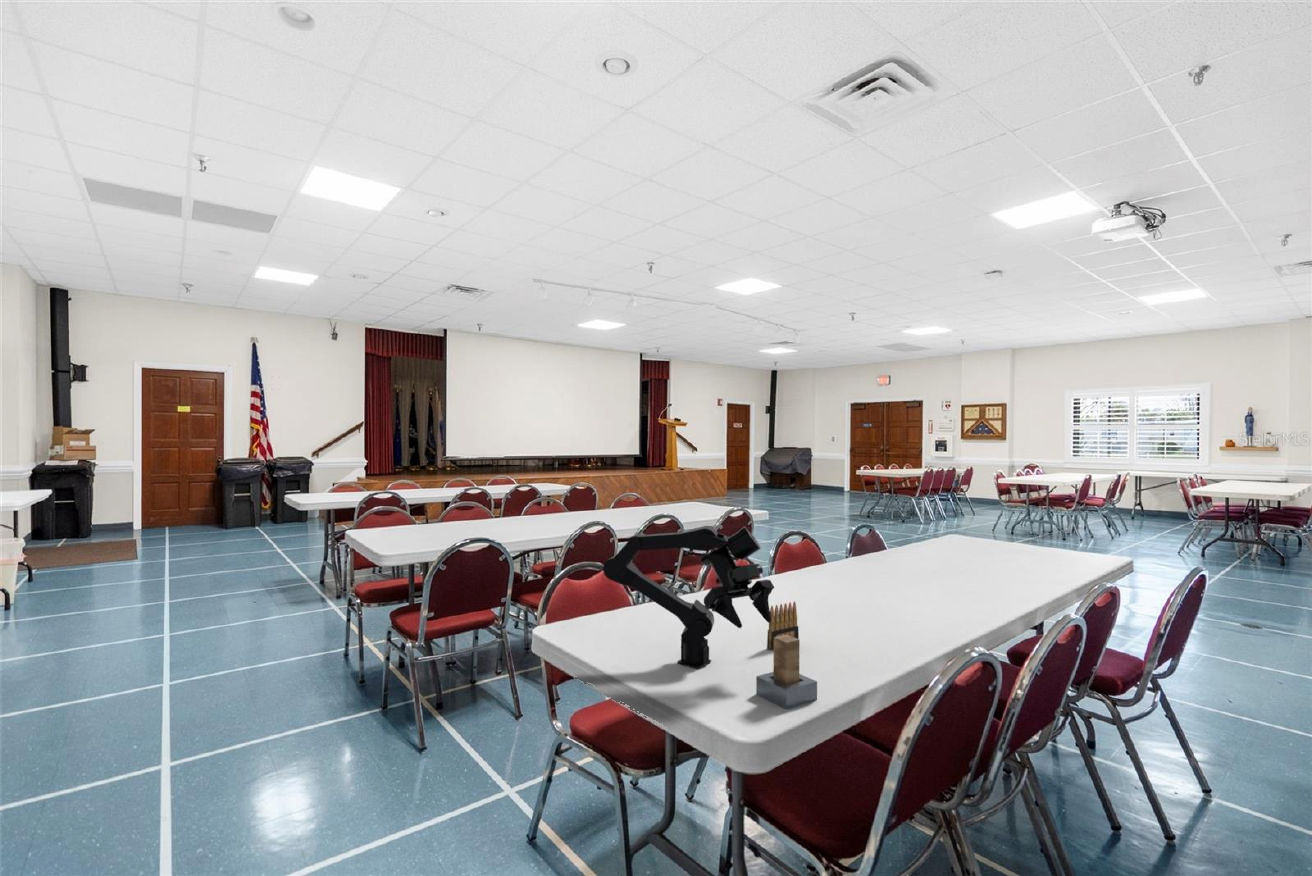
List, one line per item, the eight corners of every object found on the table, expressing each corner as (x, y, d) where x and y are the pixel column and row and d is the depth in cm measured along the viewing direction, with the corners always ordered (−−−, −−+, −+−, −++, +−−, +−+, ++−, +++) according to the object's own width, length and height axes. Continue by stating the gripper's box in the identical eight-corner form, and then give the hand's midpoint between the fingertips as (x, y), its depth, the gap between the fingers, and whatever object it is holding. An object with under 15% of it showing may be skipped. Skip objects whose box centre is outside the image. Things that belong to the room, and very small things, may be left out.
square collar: (756, 694, 139) (756, 676, 139) (786, 685, 144) (786, 668, 144) (786, 709, 131) (786, 690, 131) (817, 699, 136) (817, 681, 136)
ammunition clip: (794, 642, 176) (794, 600, 177) (798, 643, 175) (799, 601, 175) (766, 648, 171) (767, 605, 171) (771, 650, 169) (771, 606, 169)
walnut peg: (773, 695, 138) (773, 637, 138) (786, 692, 140) (786, 634, 140) (786, 702, 135) (786, 642, 135) (799, 698, 137) (799, 639, 137)
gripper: (711, 554, 146) (741, 611, 137) (769, 547, 156) (801, 600, 147) (691, 581, 152) (719, 637, 143) (748, 573, 163) (777, 625, 153)
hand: (755, 624), depth 146 cm, fingers open, 9 cm apart
